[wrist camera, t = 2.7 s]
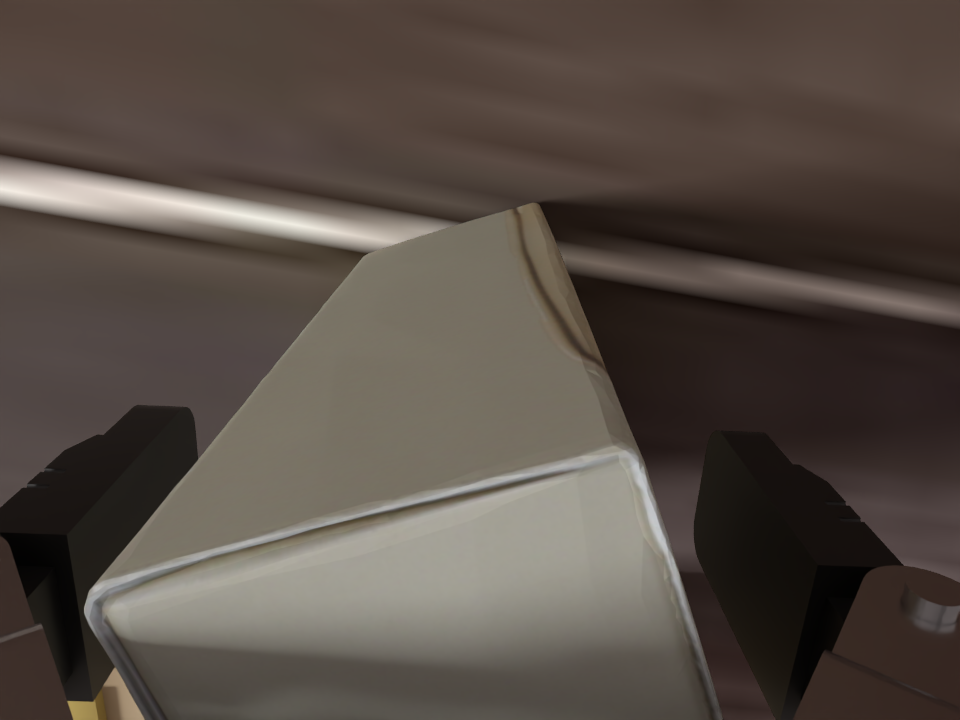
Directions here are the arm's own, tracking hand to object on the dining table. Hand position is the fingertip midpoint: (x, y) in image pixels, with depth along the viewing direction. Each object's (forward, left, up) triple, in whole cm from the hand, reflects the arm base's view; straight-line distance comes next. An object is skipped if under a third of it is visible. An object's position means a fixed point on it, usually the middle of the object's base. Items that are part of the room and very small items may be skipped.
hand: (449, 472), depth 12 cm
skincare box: (-1, 0, -6) cm, 6 cm away
